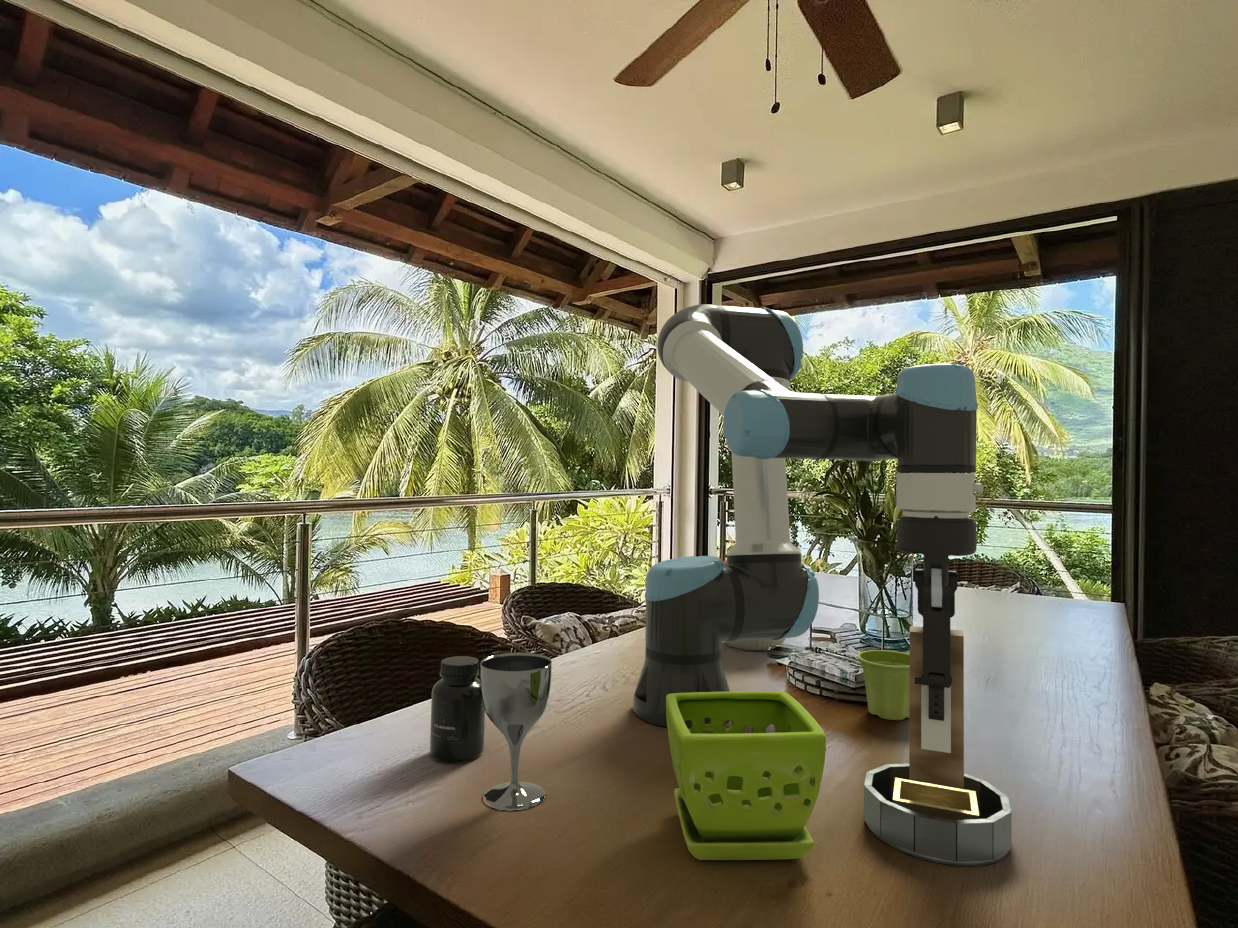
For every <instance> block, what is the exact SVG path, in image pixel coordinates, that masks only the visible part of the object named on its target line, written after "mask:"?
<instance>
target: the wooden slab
mask: <svg viewBox="0 0 1238 928" xmlns="http://www.w3.org/2000/svg"><path fill="white" fill-rule="evenodd" d="M908 636H909V641H908V642H909V647H908V648H909V649H908V650H909V653H908V654H909V718H908V719H909V721H908V722H909V727H908V728H909V732H908V733H909V735H908V736H909V737H908V738H909V739H908V741H909V744H908V747H909V749H908V751H909V752H908V753H909V759H908V760H909V761H908V764H909V779H913V780H919V781H925V782H931V783H936V784H942V785H948V786H954V787H960V788H964V773H965V768H964V767H965V763H964V762H965V746H964V745H965V728H964V727H965V726H964V725H965V723H964V722H965V720H964V719H965V707H964V706H965V704H964V703H965V695H964V694H965V693H964V692H965V691H964V689H965V687H964V686H965V685H964V684H965V680H964V678H965V675H964V673H965V672H964V671H965V670H964V669H965V668H964V667H965V666H964V665H965V662H964V661H965V659H964V658H965V655H964V654H965V652H964V651H965V650H964V649H965V648H964V647H965V644H964V643H965V642H964V641H965V639H964V637H965V636H964V633H963V630H959V629H950V676H951V677H952V683H951V753H946V752H940V751H933V750H926V749H921V685H920V684H915V677H918V678H921V674H922V673H923V626H914V625H911V626H909V635H908Z"/></svg>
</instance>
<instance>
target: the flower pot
mask: <svg viewBox="0 0 1238 928" xmlns="http://www.w3.org/2000/svg"><path fill="white" fill-rule="evenodd" d="M666 718H667V734H668V735H667V736H668V743H669V749H670V754H671V756H670V757H671V760H672V761H671V762H672V766H673V770H674V771H673V772H674V774H675V777H676V780H677V784H678V788H674V792H673V793H674V799H675V804H676V809H677V814H678V817H679V822H680V826H681V830H682V834H683V838H684V842H685V844H686V846H687V850H688V851H689V852H690V854H691V855H692V856H693V857H694V859H695V860H697V861H704V860H705V861H754V860H755V861H762V860H763V861H766V860H767V861H769V860H771V861H773V860H776V861H777V860H796V859H797V860H799V859H800V858H801V859H802V857H804V856H806V855H807V854H809V853H810V852H811V851H812V849H813V847H814V845H815V843H814V840H813V838H812V836H811V834H810V832H809V830H808V828H807V827H806V824H807V823H808V821H809V820H810V817H811V815H812V813H813V811H814V808H815V805H816V802H817V800H818V796H819V792H820V788H821V783H822V779H823V774H824V769H825V763H826V762H825V760H826V751H827V749H826V748H827V737H826V733H825V731H824V730H823V728H822V727H821V726H820V724H819V723H818V722H817V720H816V719H815V718H814V717H813V716H812V714H810V713H809V711H808V710H807V709H806V708H805V707H804V706H803V705H802V704H801V703H800V702H799V701H797V700H796V699H795V698H794V697H793V696H791V694H789V693H787V692H786V691H779V690H777V691H773V690H771V691H770V690H765V691H762V690H761V691H760V690H759V691H755V690H750V691H749V690H747V691H740V690H739V691H735V690H734V691H730V692H691V693H672V694H668V695H667V696H666ZM706 718H709V719H710V723H709V724H705V719H706ZM687 720H690V721H691V728H687V726H686V724H685V721H687ZM729 721H730V722H731V725H730V726H729V727H728V728H726V725H725V724H726V723H727V722H729ZM770 725H773V727H774V732H767V731H766V729H767V728H768V727H769V726H770ZM749 727H750V728H751V732H750V733H747V732H745V729H746V728H749ZM704 732H708V733H704Z"/></svg>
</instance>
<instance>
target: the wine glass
mask: <svg viewBox="0 0 1238 928" xmlns="http://www.w3.org/2000/svg"><path fill="white" fill-rule="evenodd" d="M552 661H553V660H552V659H551V658H550V657H549V656H546V655H544V654H539V653H533V652H532V653H531V652H507V653H500V654H494V655H491V656H487V657H485V658H483V659H482V660H481V662H480V664H479V667H480V669H479V676H480V677H479V679H480V686H481V694H482V700H483V704H484V708H485V715H486V716H487V717H488V719H489V721H491V722H492V724H493V725H494V726H495V727H496V728H497V729H498V730H499V732H500V733H501V734H502V735H503V737H504V739H505V741H506V742H507V745H508V748H509V749H508V750H509V756H510V768H511V769H510V770H511V771H510V772H511V773H510V774H511V775H510V781H508V782H502V783H500V784H496V785H494V786H492V788H491V787H490V789H489V788H488V789H486V790H485V791H484V793H485V794H484V793H483V794H484V795H483V794H482V796H485V797H486V802H487V803H489V804H490V805H491V806H493V807H494V808H496V809H498V810H497V811H500V810H501V809H502V810H507V811H506V812H514V811H513V810H518V809H527V810H529V809H528V808H530V809H532V808H531V807H532V806H535V805H537V804H539V803H540V802H541V801H543V799H544V796H546V797H547V792H546V790H545V789H544V787H542V786H540V785H538V784H536V785H535V783H533V784H532V782H528V781H527V782H528V783H527V782H526V781H519V766H520V765H519V763H520V755H521V748H522V746H523V742H524V740H525V738H526V736H527V735H528V734H529V733H530V731H531V730H532V729H533V728H534V726H535V725H536V724H537V723H538V722H539V721H540V719H541V718H542V717H543V715H544V714H545V712H546V709H547V706H548V702H549V698H550V692H551V686H552V676H553V675H552V671H553V670H552V667H553V665H552ZM543 802H544V801H543ZM539 805H540V804H539ZM491 806H490V807H491ZM537 806H538V805H537ZM490 807H489V808H490ZM535 807H536V806H535Z"/></svg>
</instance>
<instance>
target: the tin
mask: <svg viewBox="0 0 1238 928" xmlns="http://www.w3.org/2000/svg"><path fill="white" fill-rule="evenodd" d="M863 787H864V788H863V820H864V821H865V825H866V826H867V829H869V831H870V832H871V833H872V835H874V836H875V837H876V838H877V839H878V840H880V841H881V842H882V841H883V843H884V844H886V845H887V846H889V847H891V848H892V849H894V848H895V849H894V850H896V851H898V850H899V851H898V852H901V853H903V854H905V855H907V856H908V855H909V856H910V855H911V856H910V857H913V856H914V858H916V859H920V860H923V859H924V860H923V861H926V860H928V861H927V862H930V861H933V862H932V863H934V862H938V863H937V864H940V863H942V864H941V865H945V864H947V865H946V866H953V865H954V867H981V866H982V867H983V866H988V865H992V864H995V863H998V862H1001V861H1002V860H1003V859H1005V858H1006V857H1007V856H1008V854H1009V852H1010V850H1011V849H1012V809H1011V808H1012V807H1011V805H1010V801H1009V796H1008V795H1007V794H1005V793H1004V792H1003V791H1001V790H999V789H998V788H997V787H995V786H994V785H992V784H990V783H989V782H988V781H987V780H985V779H981V778H978V777H976V776H972V775H970V774H968V773H965V772H964V788H960V787H954V786H948V785H942V784H936V783H931V782H925V781H919V780H913V779H909V763H890V764H889V763H886V764H884V765H881V766H878V767H876V768H874V769H871V770H869V771H866V775H865V779H864V784H863Z"/></svg>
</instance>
